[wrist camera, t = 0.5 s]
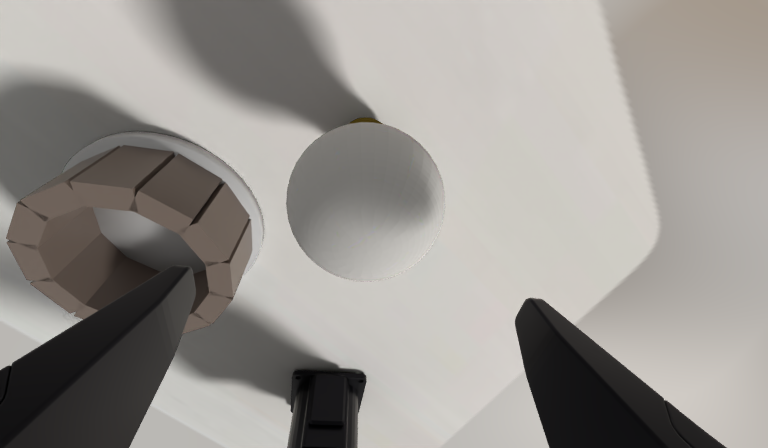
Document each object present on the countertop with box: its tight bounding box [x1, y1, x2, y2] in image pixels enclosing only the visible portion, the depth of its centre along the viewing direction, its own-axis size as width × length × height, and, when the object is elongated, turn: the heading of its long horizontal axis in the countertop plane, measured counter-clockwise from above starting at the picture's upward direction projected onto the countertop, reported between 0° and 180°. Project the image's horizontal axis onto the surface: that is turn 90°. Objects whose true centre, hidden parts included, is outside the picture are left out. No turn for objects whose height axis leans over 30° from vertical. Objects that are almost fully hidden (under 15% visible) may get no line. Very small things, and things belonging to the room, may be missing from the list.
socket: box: [6, 131, 264, 334], centre depth 20 cm, size 11×11×5 cm
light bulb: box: [286, 118, 445, 282], centre depth 15 cm, size 6×6×10 cm
